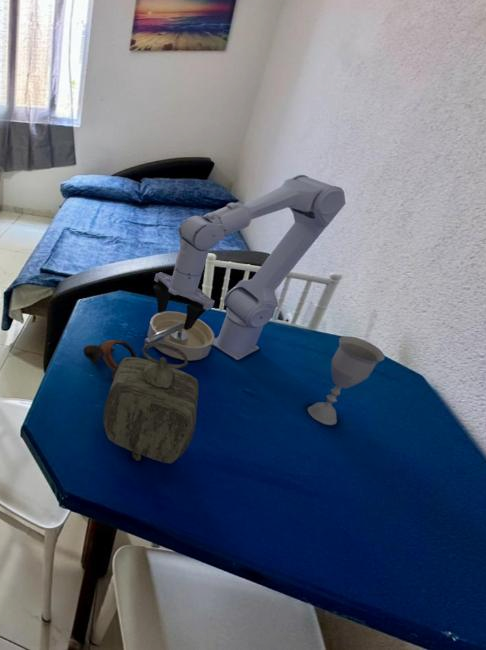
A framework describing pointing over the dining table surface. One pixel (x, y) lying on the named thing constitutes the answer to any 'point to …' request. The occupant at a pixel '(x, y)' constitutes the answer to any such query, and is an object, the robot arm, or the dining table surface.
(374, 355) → the chalice
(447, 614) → the dining table surface
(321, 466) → the dining table surface
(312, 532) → the dining table surface
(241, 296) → the robot arm
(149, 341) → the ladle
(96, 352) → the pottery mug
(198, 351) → the bowl
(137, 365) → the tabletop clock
